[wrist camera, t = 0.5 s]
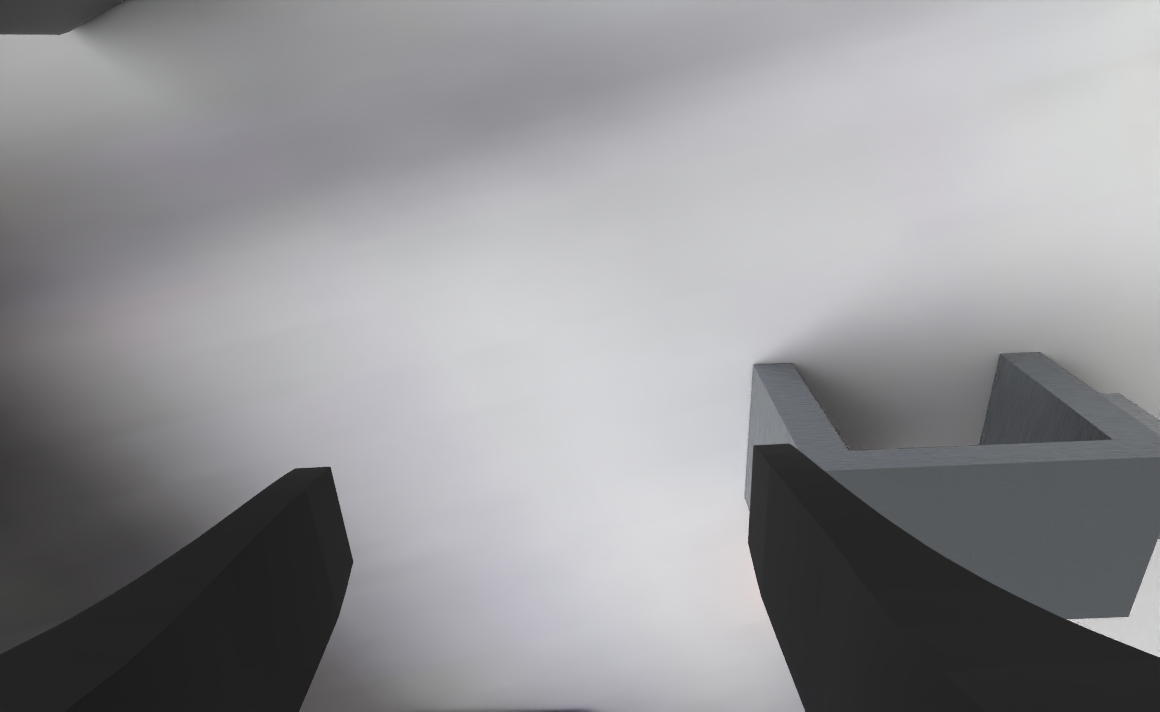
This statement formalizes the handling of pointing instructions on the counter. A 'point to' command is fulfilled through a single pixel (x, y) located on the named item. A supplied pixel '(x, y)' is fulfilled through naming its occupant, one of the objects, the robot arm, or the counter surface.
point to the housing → (1005, 483)
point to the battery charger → (49, 15)
